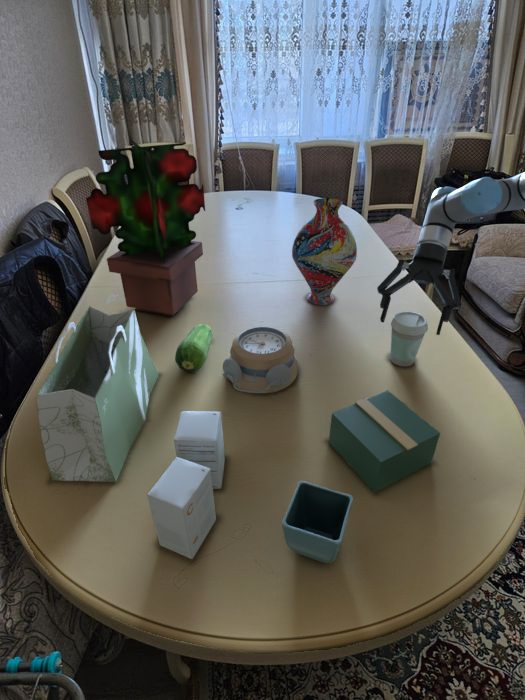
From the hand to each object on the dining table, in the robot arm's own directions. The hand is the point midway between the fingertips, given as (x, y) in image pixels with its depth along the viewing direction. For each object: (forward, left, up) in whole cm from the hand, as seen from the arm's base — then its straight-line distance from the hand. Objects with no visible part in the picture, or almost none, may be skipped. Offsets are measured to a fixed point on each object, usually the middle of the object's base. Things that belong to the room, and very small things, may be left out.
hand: (409, 327), depth 111 cm
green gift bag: (+12, +71, -8) cm, 73 cm away
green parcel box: (-22, +28, -8) cm, 37 cm away
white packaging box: (-10, +60, -8) cm, 62 cm away
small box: (-20, +67, -8) cm, 71 cm away
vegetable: (+26, +46, -8) cm, 54 cm away
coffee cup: (-1, +2, -8) cm, 9 cm away
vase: (+36, +1, -8) cm, 37 cm away
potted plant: (+56, +45, -8) cm, 73 cm away
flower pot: (-32, +50, -8) cm, 60 cm away
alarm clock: (+9, +37, -8) cm, 39 cm away
